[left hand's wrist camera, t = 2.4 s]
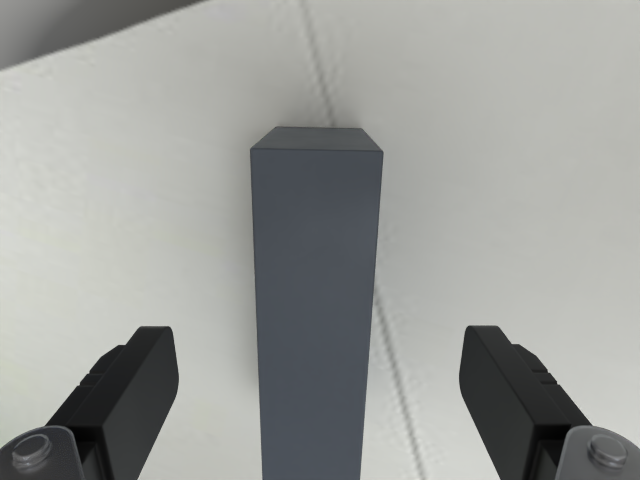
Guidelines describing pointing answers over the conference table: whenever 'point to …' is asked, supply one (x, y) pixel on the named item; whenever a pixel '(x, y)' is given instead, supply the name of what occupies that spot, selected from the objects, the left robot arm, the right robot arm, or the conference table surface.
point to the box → (314, 296)
